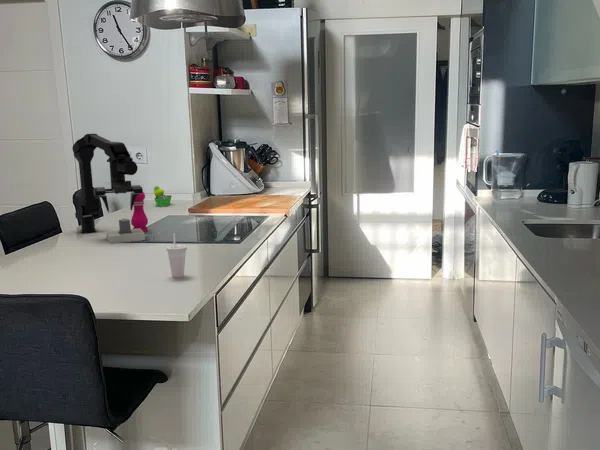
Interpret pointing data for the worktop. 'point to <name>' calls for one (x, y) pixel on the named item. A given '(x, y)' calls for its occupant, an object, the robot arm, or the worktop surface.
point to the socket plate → (125, 236)
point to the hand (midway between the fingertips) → (119, 211)
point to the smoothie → (177, 259)
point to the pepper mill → (139, 213)
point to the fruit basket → (161, 197)
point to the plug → (124, 226)
